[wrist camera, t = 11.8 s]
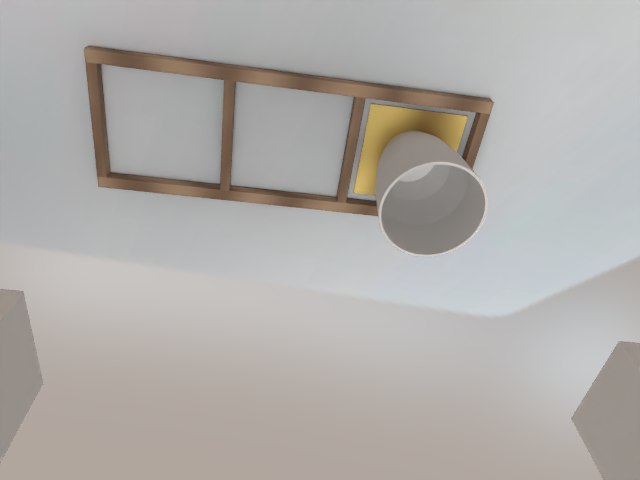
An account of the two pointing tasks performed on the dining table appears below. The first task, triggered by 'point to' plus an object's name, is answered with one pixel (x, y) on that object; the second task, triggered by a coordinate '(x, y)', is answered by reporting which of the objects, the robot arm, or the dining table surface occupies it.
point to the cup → (427, 196)
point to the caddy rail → (381, 117)
